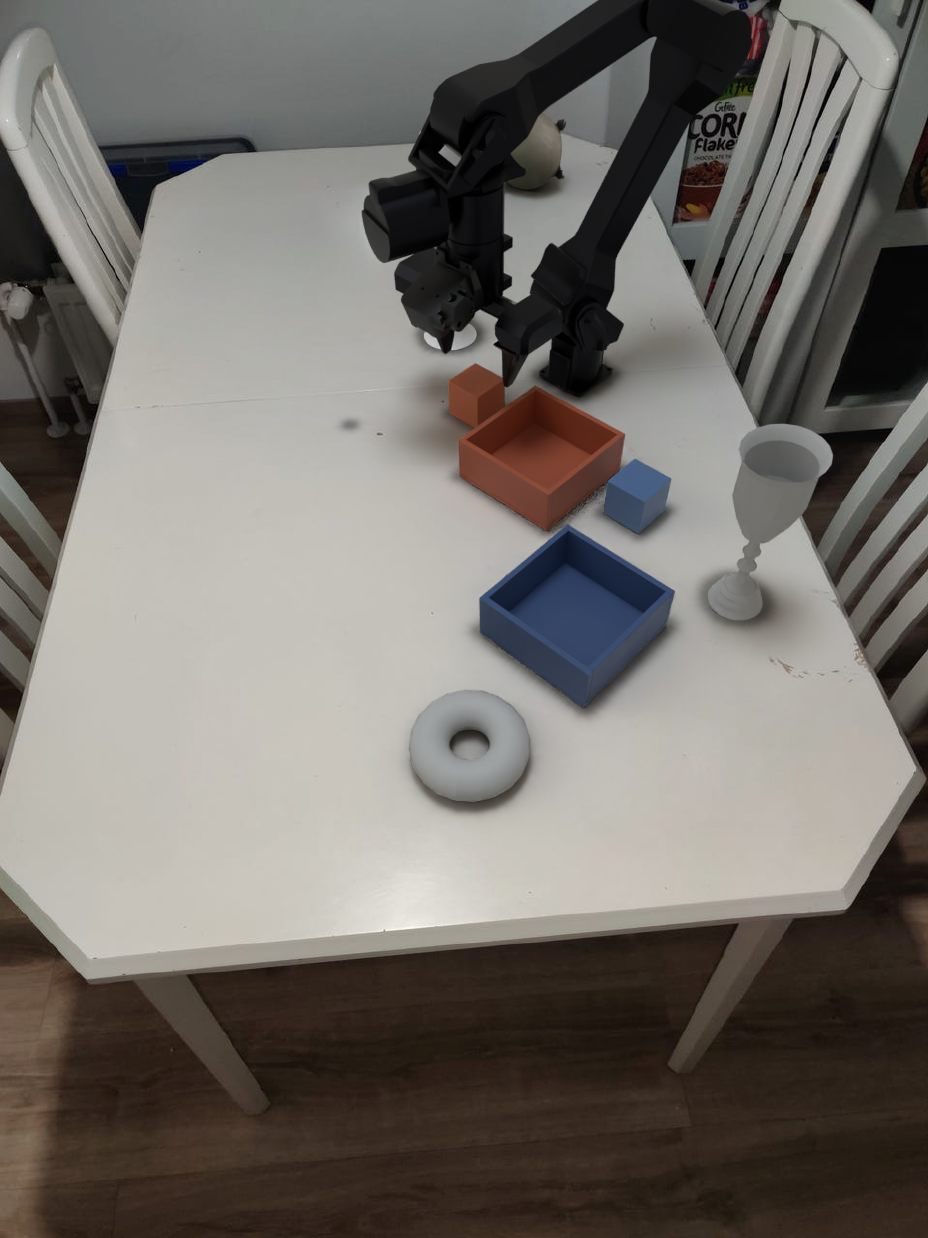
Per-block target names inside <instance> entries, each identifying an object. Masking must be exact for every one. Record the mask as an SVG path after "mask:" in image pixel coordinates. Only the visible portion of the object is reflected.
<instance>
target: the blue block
mask: <svg viewBox="0 0 928 1238" xmlns="http://www.w3.org/2000/svg"><path fill="white" fill-rule="evenodd" d="M671 484H672V478H671V477H670V476H667V475H666V474H665V473H662V472H661V471H660V470H657V469H655V468H654V467H652V466H650V465H648V464H646V463H644V462H643V461H641V460H639V459H637V458H633V459H632V460H631V461H630V462H629V463H627V464H626V465H625V466H624V467H623V468H620V470H619V471H618V472H617V473H616V474H615V475H613V476H612V477H611V478H610V479H608V480H607V483H606V491H605V496H604V503H603V504H604V505H603V511H602V512H603V514H604V515H605V516H607V517H609V518H610V519H612V520H614V521H616V522H617V523H619V524H621V525H622V526H624V527H625V528H627V529H629V530H630V531H632V532H634V533H636V534H637V535H640V534H641V533H642V532H643V531H644V530H646V528H647V527H648V526H650V525H651V524H652V523H653V522H654V521H655V520H656V519H657V518H659V516H661V515H662V514H663V513H664V512H665V511H666V507H667V501H668V498H669V497H668V496H669V492H670V487H671Z"/></svg>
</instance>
